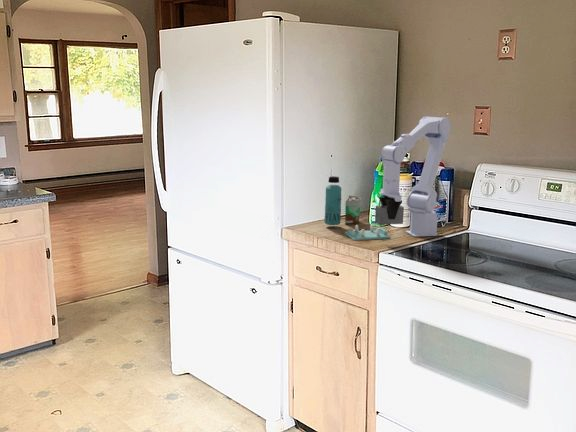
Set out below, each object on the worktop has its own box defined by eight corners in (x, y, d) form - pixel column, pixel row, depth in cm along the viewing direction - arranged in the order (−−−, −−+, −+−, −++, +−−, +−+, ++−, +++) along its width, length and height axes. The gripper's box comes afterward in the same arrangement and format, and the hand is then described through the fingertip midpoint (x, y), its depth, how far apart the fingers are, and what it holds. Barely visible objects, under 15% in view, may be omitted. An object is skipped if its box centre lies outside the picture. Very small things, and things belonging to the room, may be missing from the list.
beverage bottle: (322, 228, 238) (324, 177, 234) (325, 224, 244) (326, 175, 240) (339, 229, 237) (341, 178, 232) (341, 225, 243) (343, 175, 239)
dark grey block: (398, 221, 221) (399, 204, 219) (403, 223, 217) (403, 206, 215) (375, 222, 219) (375, 205, 217) (379, 224, 215) (379, 207, 213)
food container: (360, 226, 242) (361, 201, 240) (344, 225, 243) (345, 200, 241) (362, 219, 254) (363, 195, 252) (348, 218, 255) (348, 195, 253)
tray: (379, 231, 234) (380, 223, 233) (390, 238, 224) (390, 229, 223) (344, 233, 230) (345, 224, 230) (353, 240, 221) (354, 231, 220)
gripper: (373, 176, 220) (371, 213, 223) (388, 183, 207) (386, 222, 210) (391, 176, 222) (389, 213, 225) (408, 183, 208) (405, 221, 211)
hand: (389, 217), depth 217 cm, fingers closed on dark grey block, 4 cm apart
